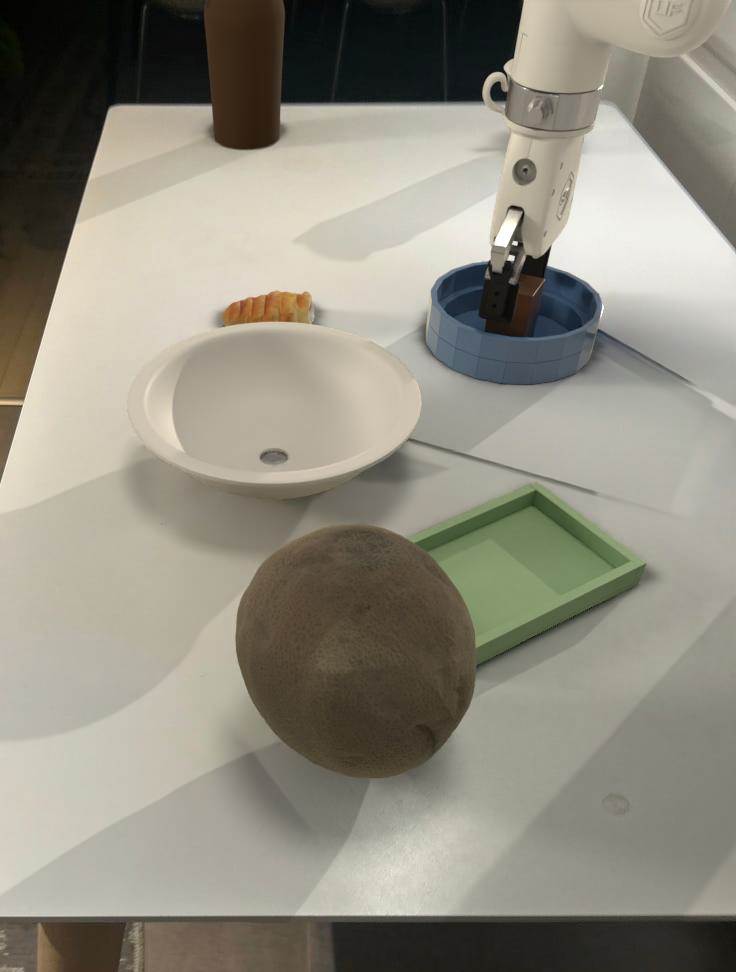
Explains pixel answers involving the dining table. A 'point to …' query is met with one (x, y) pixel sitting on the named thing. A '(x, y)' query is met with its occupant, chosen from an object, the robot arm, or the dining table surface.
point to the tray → (527, 565)
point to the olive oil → (245, 70)
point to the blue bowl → (513, 360)
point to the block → (522, 310)
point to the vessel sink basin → (274, 407)
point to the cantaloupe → (357, 650)
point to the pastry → (271, 309)
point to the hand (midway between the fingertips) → (511, 298)
